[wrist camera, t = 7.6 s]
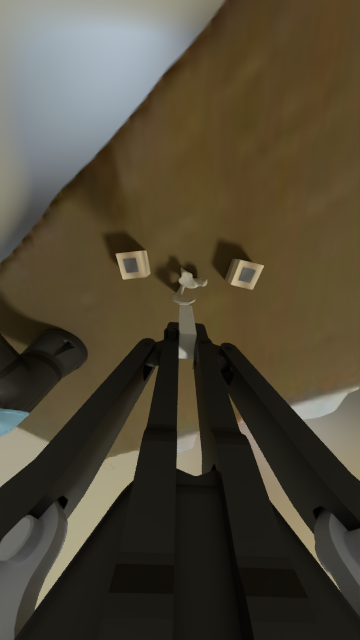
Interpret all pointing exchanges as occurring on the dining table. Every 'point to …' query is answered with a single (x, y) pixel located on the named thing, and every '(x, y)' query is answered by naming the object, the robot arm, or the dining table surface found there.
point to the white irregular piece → (187, 282)
